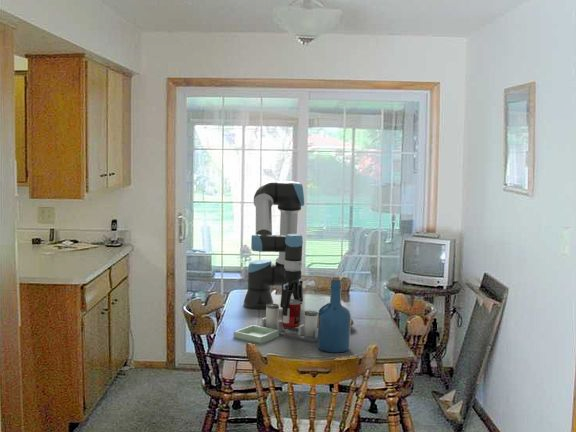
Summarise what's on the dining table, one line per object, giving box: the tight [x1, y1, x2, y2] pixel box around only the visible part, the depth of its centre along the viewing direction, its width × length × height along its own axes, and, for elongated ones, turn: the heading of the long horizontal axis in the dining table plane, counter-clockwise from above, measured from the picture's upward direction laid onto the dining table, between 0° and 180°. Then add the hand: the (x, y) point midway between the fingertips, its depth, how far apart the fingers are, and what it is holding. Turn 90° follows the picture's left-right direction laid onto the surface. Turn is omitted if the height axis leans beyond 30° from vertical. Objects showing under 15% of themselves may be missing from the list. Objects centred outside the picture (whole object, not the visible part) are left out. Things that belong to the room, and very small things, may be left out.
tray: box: [232, 324, 280, 345], centre depth 294 cm, size 14×14×3 cm
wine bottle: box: [317, 275, 352, 354], centre depth 280 cm, size 14×13×30 cm
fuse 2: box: [303, 310, 318, 339], centre depth 297 cm, size 6×6×11 cm
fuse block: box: [258, 316, 318, 343], centre depth 303 cm, size 31×13×4 cm, turn 58°
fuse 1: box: [265, 303, 280, 330], centre depth 308 cm, size 6×6×11 cm
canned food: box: [281, 298, 302, 328], centre depth 302 cm, size 8×8×11 cm
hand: (291, 320), depth 303 cm, fingers closed on canned food, 8 cm apart
